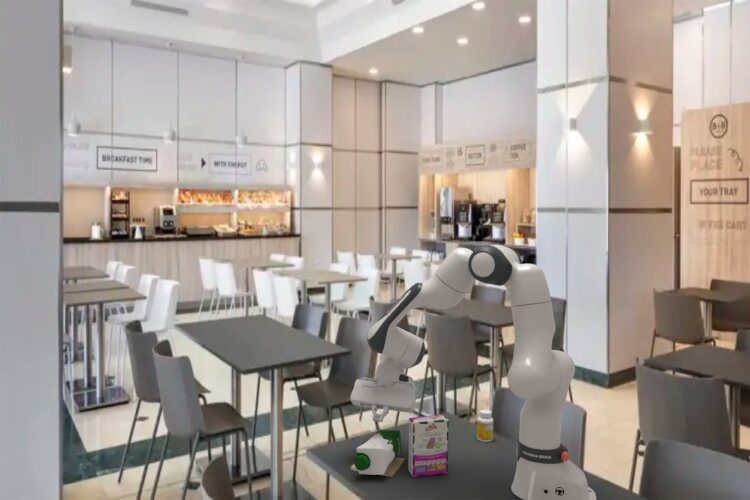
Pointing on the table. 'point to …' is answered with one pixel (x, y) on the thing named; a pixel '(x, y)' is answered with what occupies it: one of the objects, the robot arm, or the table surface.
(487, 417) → the supplement bottle
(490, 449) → the table surface
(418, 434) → the candy bar box
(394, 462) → the oak board
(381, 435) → the soya milk
